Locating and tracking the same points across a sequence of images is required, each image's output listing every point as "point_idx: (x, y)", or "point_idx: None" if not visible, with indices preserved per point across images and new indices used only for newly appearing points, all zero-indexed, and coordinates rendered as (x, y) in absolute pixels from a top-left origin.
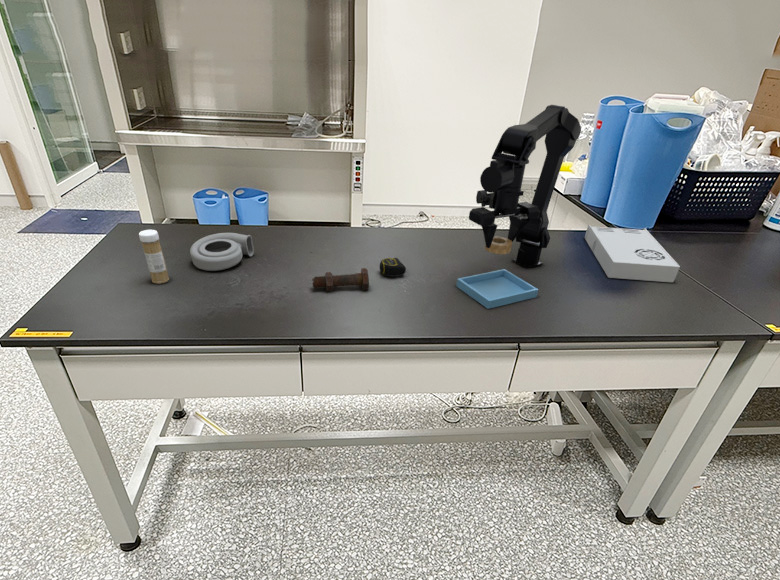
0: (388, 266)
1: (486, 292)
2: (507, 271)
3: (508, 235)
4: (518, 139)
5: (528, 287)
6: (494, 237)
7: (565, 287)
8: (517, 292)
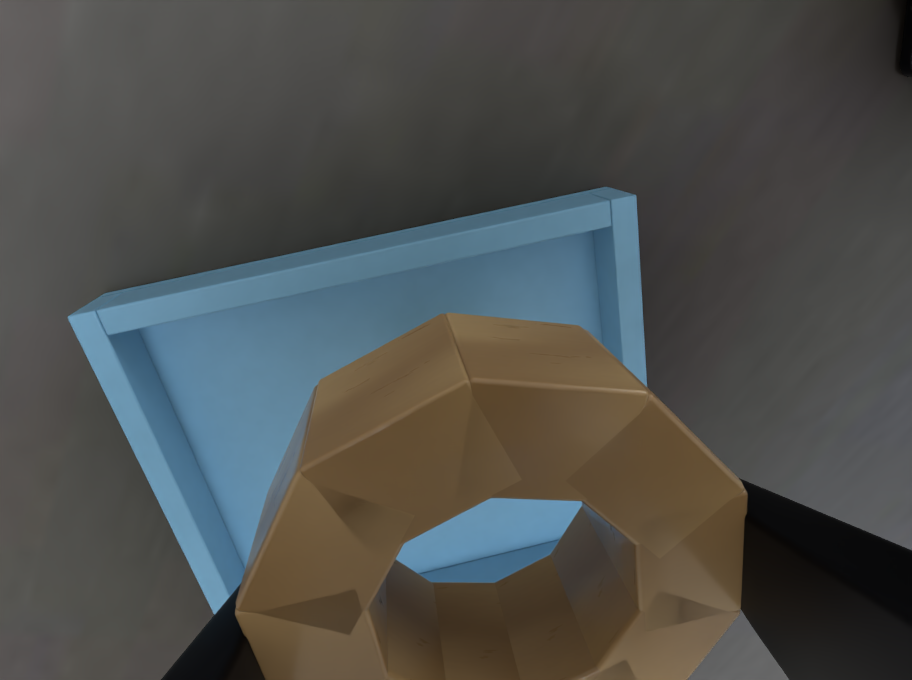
0: None
1: None
2: (627, 259)
3: (791, 560)
4: None
5: None
6: (507, 453)
7: (892, 437)
8: None
